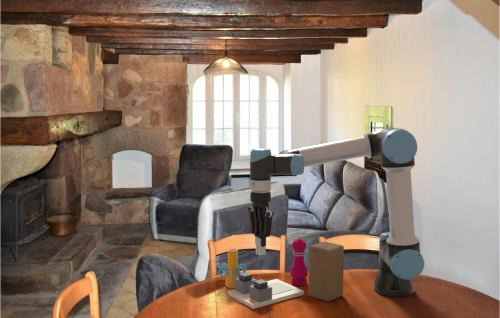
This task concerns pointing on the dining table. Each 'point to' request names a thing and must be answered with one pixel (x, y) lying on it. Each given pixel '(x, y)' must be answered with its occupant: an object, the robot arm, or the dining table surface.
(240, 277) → the block
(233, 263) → the yellow post with loops
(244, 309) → the dining table surface
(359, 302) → the dining table surface
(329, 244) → the wooden block
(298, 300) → the dining table surface
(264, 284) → the block
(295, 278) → the pepper mill
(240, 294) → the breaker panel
